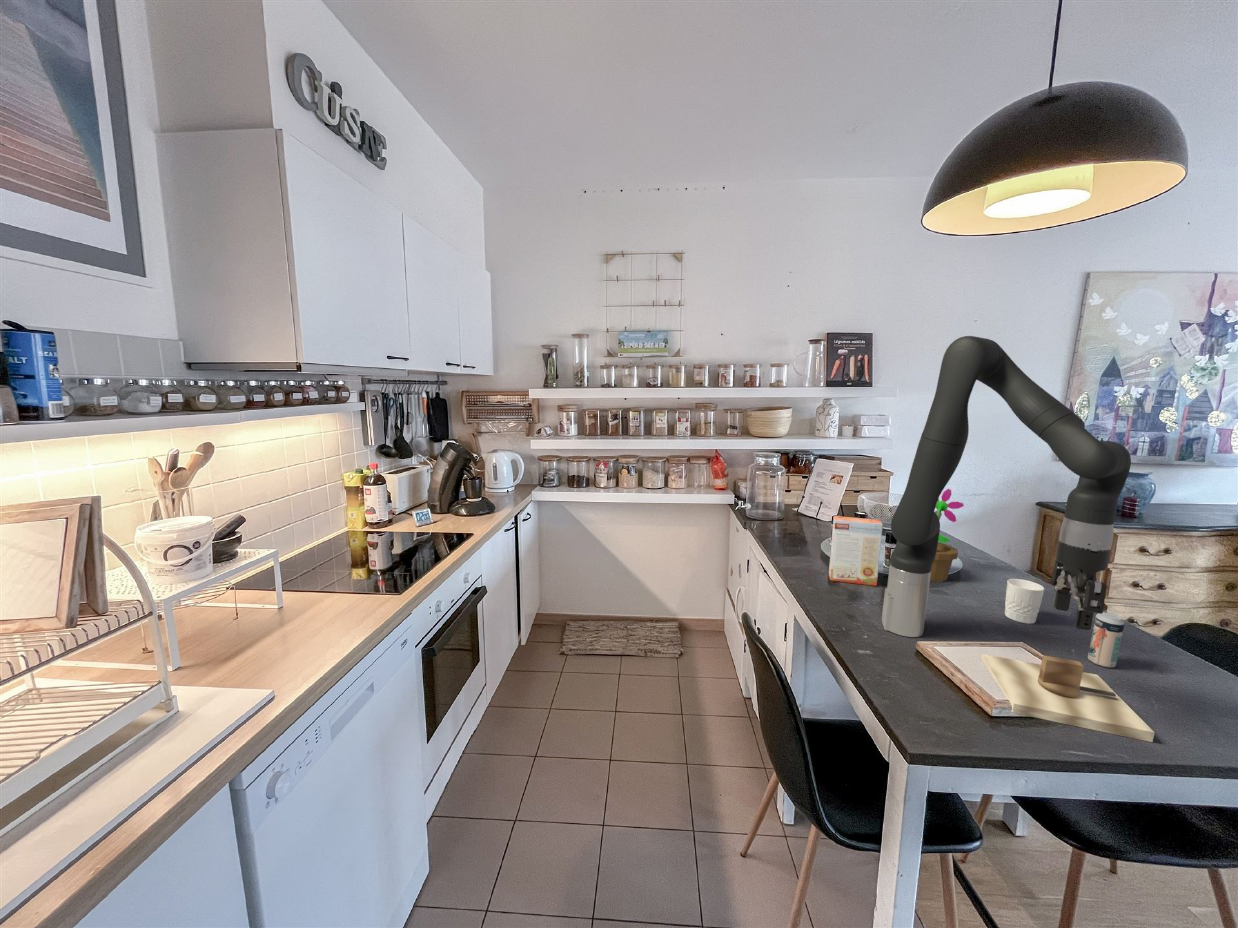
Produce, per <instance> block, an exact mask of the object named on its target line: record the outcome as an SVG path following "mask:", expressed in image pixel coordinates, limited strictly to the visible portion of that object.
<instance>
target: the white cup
mask: <svg viewBox="0 0 1238 928" xmlns="http://www.w3.org/2000/svg"><path fill="white" fill-rule="evenodd" d="M1006 581H1007V582H1006V591H1005V602H1004V603H1005V606H1004V614H1005V616H1006V617H1007V618H1008V619H1011V621H1015V622H1018V623H1023V624H1028V625H1029V624H1035V623H1036V622H1037V619H1038V615H1039V612H1040V607H1041V604H1042V600H1043V596H1044V593H1045V587H1044V586H1043V585H1041V584H1039V583H1036V582H1034V581H1031V580H1026V579H1022V578H1021V579H1020V578H1009V579H1007V580H1006Z"/></svg>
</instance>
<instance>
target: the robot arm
mask: <svg viewBox="0 0 1238 928" xmlns="http://www.w3.org/2000/svg"><path fill="white" fill-rule="evenodd" d="M977 381H978V382H980V383H982V384H983V385H985V386H987V387H988V388H990V389H991V390H993V391H994V392H995V393H996V394H998V395H999V396H1000V397H1001V398H1002V399H1003V400H1004V401H1005V402H1006V404H1007V405H1008V406H1009V409H1010V410H1011V411H1012V412H1013V414H1014V415H1015V416H1016V418H1017V419H1019V421H1020V422H1021V423H1022V424H1023V425H1025V426H1026V427H1027V428H1028V429H1029V430H1030V431H1031V432H1032V433H1034V434H1035V435H1036V436H1037V437H1038V438H1039V439H1041V440H1042V441H1043V442H1045V443H1046V444H1047V446H1049V448H1050V449H1051V451H1052V452H1053V453H1054V455H1055V456H1056V457H1057V458H1058V460H1059V461H1060V462H1061V463H1062V465H1064V466H1065V467H1066V468H1067V469H1068V470H1069V471H1071V472H1072V473H1073V474H1074V475H1077V476H1078V477H1079V478H1078V481H1077V484H1076V486H1075V488H1073V489H1072V490H1071V491H1070V492H1069V494H1068V497H1067V500H1066V506H1065V509H1064V510H1065V511H1064V516H1063V520H1062V524H1061V526H1060V529H1059V536H1058V542H1057V548H1056V554H1055V562H1054V568H1053V572H1052V575H1051V580H1050V582H1051V586H1054V591H1055V598H1054V604H1053V608H1054V609H1056V611H1064V612H1067V611H1069V609H1070V604H1071V600H1072V599H1071V598H1073V599H1074V600H1075V601H1076V606H1077V609H1076V614H1075V618H1074V619H1075V621H1074V627H1075V628H1076V629H1078V630H1083V631H1084V630H1085V631H1090V630H1091V629H1092V624H1093V618H1094V614H1098V613H1099V614H1102V613H1103V612H1104V608H1105V600H1106V594H1107V587H1108V586H1107V583H1106V582H1102V581H1098V580H1097V573H1098V572H1104V571H1106V570H1108V566H1109V562H1110V558H1111V551H1112V546H1113V540H1114V534H1115V533H1114V526H1115V520H1116V514H1117V507H1118V501H1119V497H1120V495H1121V493H1122V492H1123V489H1124V487H1125V485H1126V482H1127V479H1128V476H1129V474H1130V470H1131V465H1132V456H1131V453H1130V452H1129V450H1128V449H1127V448H1126V446H1124V445H1122V444H1121V443H1118V442H1115V441H1112V440H1111V441H1110V440H1104V441H1103V440H1099V439H1098V438H1096V437H1095V436H1094V435H1093V434H1092V433H1090V431H1088V430H1087V429H1086V423H1085V421H1084V420H1083V419H1082V418H1081V417H1080V416H1079V415H1077V414H1076V413H1075V412H1074V411H1072V410H1071V409H1070V408H1069V407H1067V406H1066V405H1065V404H1063V403H1062V402H1061V401H1060V400H1058V399H1057V398H1056V397H1055V396H1053V395H1051V394H1050V393H1049V392H1047V390H1045V389H1044V388H1043V387H1041V386H1040V385H1039V384H1038V383H1036V382H1035V381H1034V380H1032V379H1031V378H1030V377H1029V376H1028V375H1027V374H1026V373H1025V372H1024V371H1023V370H1022V369H1021V368H1020V367H1019V366H1018V365H1017V364H1016V362H1014V360H1013V359H1011V357H1010V356H1009V354H1008V353H1007V352H1006V351H1005V350H1004V349H1003V347H1002V346H1000V345H999V343H997V341H995V340H992V339H989V338H985V337H980V336H973V335H966V336H961V337H959V338H956V339H955V340H954V341H952V342H951V343H950V344H949V345H948V347H946V350H945V352H944V354H943V357H942V360H941V365H940V368H939V374H938V379H937V383H936V384H937V385H936V389H935V394H934V398H933V400H932V403H931V407H930V409H929V411H928V412H929V413H928V415H927V417H926V418H927V420H926V422H925V424H924V428H923V431H922V433H921V435H920V439H919V441H918V445H917V447H916V452H915V455H914V459H913V461H912V465H911V468H910V472H909V475H908V480H907V483H906V487H905V490H904V492H903V494H902V496H901V499H900V501H899V503H898V506H897V508H896V510H895V512H894V513H893V516H892V517H891V521H890V531H891V533H892V536H893V537H894V539H895V540H896V543H895V547H894V548H893V551H892V552H891V555H890V558H889V559H890V561H889V568H888V577H887V587H885V588H884V596H883V603H882V605H883V606H882V614H881V623H882V625H883V629H884V631H888V632H891V633H894V634H895V635H899V636H903V637H907V638H908V637H909V638H919V637H922V635H923V634H924V629H925V620H926V615H927V605H928V597H929V590H930V583H931V581H930V576H931V569H932V564H933V562H934V559H935V556H936V551H937V545H938V542H939V541H938V539H939V535H940V531H941V522H940V521H941V520H939V518H938V516H937V514H936V513H935V511H936V508H935V507H936V504H937V501H938V498H939V499H940V495H941V494H942V492H944V489H945V487H947V484H948V483H949V481H950V480H951V478H952V476H953V475H954V474H955V472H956V470H957V468H958V467H959V463H960V462H961V459H962V456H963V454H964V451H965V447H966V445H967V442H968V440H969V431H970V430H969V401H970V398H971V394H972V392H973V390H974V386H975V384H976V382H977Z"/></svg>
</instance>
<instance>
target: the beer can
mask: <svg viewBox="0 0 1238 928" xmlns="http://www.w3.org/2000/svg"><path fill="white" fill-rule="evenodd" d="M1093 623H1094V624H1093V628H1092V634H1091V638H1090V643H1089V648H1088V653H1087V659H1088V660H1089V661H1090V662H1092V663H1093V664H1095V665H1096V666H1099V667H1103V668H1115V667H1116V666H1117V662H1118V657H1119V653H1120V652H1119V651H1120V648H1121V642H1122V638H1123V633H1124V629H1125V625H1126V624H1125V621H1124V619H1123V617H1122V616H1120V615H1118V614H1115V613H1113V612H1107V611H1103V613H1102V614H1099V613H1096V615H1095V618H1094V622H1093Z"/></svg>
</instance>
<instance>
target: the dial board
mask: <svg viewBox="0 0 1238 928" xmlns="http://www.w3.org/2000/svg"><path fill="white" fill-rule="evenodd" d="M981 659H982V660H983V662H984V663H985V665H986V667H987V669H988V670H989V672H990V673H991V675H992V676H993V678H994V679H995V681H996V682H997V683H998V685H999V687H1000V688H1001V689H1002V691H1003V693H1004V695H1005V696H1006V698H1007V699H1008V700H1009V701H1010V703H1011V705H1012V710H1010V711H1011V713H1013V714H1018V715H1022V716H1027V717H1031V718H1035V719H1040V720H1045V721H1049V722H1055V723H1059V724H1065V725H1068V726H1069V725H1070V726H1074V727H1079V728H1082V729H1083V728H1084V729H1089V730H1093V731H1097V732H1102V733H1105V734H1112V735H1116V736H1122V737H1126V738H1130V739H1135V740H1141V741H1145V742H1150V743H1153V741H1154V737H1155V734H1156V733H1155V731H1154V730H1153V729H1152V728H1151V727H1150V726H1149V725H1148V724H1147V723H1146V722H1145V721H1144V720H1143V719H1142V718H1141V717H1140V716H1139V715H1138V713H1136V712H1135V711H1134V710H1133V709H1132V708H1131V707H1130V706H1129V705H1128V704H1127V703H1126V702H1125V701H1124V700H1123V699H1122V698H1121V697H1120V696H1119V695H1118V694H1117V693H1116V692H1115V691H1114V690H1113V688H1111V686H1109V685H1108V684H1107V683H1106V682H1105V680H1103V679H1102V678H1101V677H1100V676H1099V675H1098V674H1095V673H1089V672H1085V671H1084V672H1083V673H1082V678H1081V683H1080V686H1082V687H1087V688H1092V689H1098V690H1103V691H1108V692H1114V693H1115V694H1116V696H1115V697H1114V696H1108V695H1103V694H1098V693H1093V692H1087V691H1082V690H1080V692H1079V695H1078V696H1077V697H1067V696H1062V695H1059V694H1056V693H1053V692H1051V691H1049V690H1047V689H1045V688H1044V687H1042V686H1041V685H1040V684H1039V683H1038V676H1039V674H1040V668H1041V664H1040V663H1034V662H1029V661H1023V660H1018V659H1011V658H1006V657H1001V656H995V655H990V654H984V653H982V654H981Z"/></svg>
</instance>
